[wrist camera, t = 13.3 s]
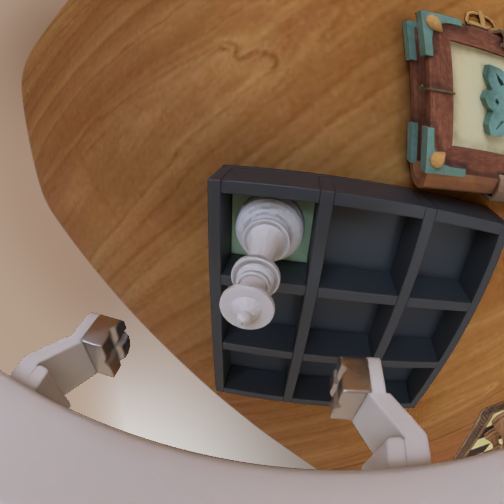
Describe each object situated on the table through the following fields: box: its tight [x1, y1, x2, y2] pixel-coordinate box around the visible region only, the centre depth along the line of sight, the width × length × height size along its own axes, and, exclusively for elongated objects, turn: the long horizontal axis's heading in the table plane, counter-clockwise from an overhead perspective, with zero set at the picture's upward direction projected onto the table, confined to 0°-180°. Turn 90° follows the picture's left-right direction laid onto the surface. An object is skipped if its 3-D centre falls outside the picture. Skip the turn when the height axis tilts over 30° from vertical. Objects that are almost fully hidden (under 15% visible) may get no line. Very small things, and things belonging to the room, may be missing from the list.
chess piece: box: [219, 196, 304, 330], centre depth 16 cm, size 4×4×10 cm
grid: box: [208, 165, 504, 408], centre depth 22 cm, size 20×20×4 cm
